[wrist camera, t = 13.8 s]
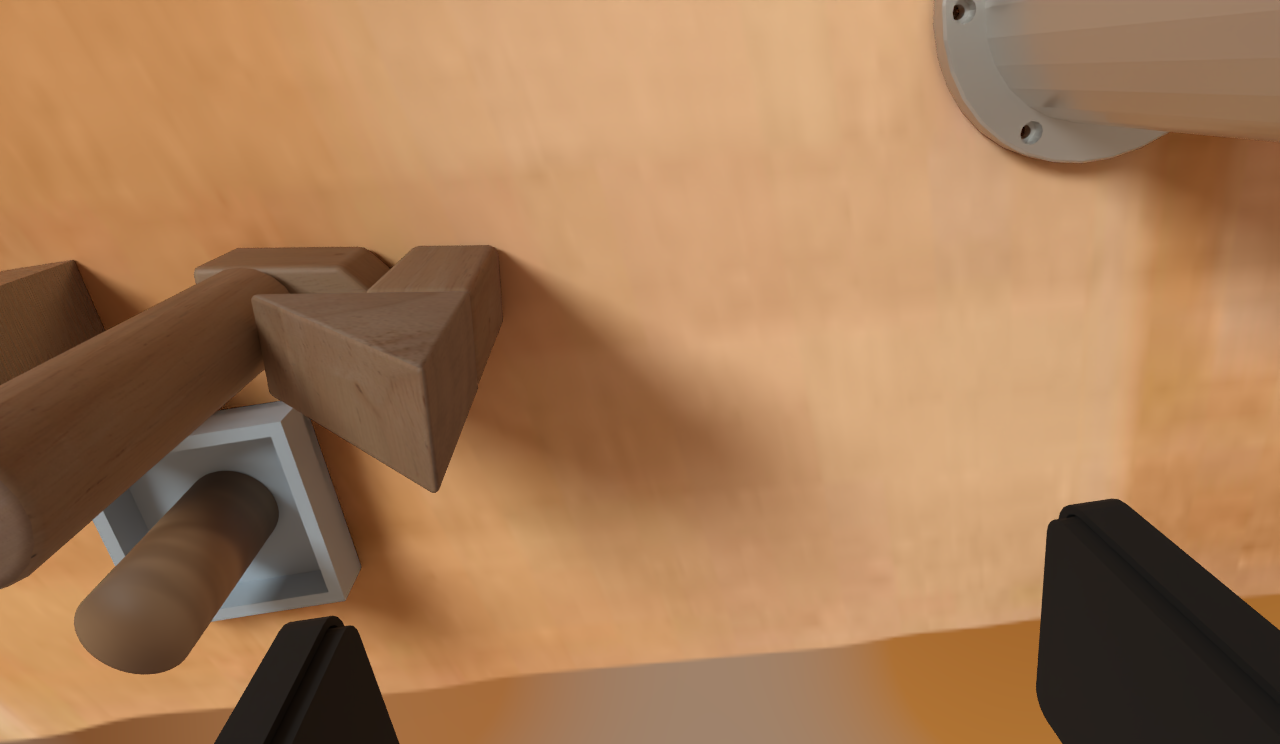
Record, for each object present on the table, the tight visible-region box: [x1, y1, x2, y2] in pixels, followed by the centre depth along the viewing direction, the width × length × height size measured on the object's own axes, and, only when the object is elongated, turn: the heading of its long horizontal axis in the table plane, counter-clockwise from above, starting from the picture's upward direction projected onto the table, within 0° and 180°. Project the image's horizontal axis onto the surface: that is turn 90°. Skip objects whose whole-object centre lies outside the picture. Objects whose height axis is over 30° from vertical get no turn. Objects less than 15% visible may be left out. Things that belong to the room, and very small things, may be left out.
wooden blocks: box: [0, 245, 503, 589], centre depth 23 cm, size 4×11×18 cm, turn 90°
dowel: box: [74, 471, 279, 674], centre depth 31 cm, size 4×4×8 cm
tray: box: [93, 401, 362, 622], centre depth 34 cm, size 9×9×2 cm
